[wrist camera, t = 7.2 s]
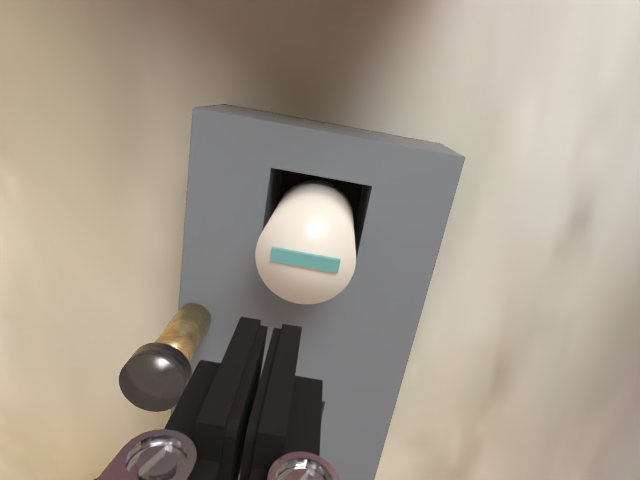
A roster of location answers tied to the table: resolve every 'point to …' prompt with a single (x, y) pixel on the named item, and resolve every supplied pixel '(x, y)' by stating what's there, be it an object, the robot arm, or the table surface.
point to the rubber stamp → (165, 361)
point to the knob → (308, 244)
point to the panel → (370, 270)
